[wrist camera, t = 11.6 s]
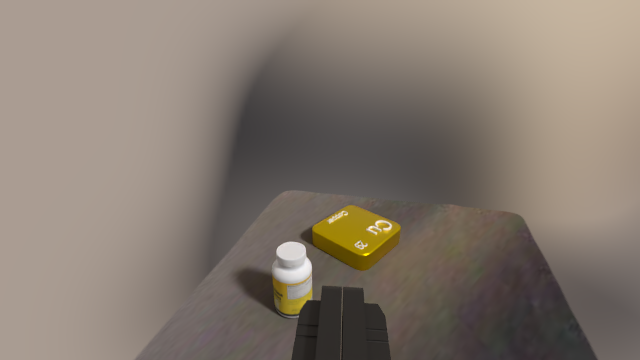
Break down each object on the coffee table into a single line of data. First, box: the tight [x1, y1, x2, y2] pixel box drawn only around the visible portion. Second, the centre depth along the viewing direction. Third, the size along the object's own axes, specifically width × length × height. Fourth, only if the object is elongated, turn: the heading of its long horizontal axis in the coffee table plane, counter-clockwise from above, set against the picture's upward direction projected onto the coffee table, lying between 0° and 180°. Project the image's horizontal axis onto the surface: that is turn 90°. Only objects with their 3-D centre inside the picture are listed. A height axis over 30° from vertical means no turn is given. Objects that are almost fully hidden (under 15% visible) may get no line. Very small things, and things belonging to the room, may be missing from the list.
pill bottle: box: [272, 242, 312, 318], centre depth 54 cm, size 6×6×12 cm
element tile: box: [312, 205, 401, 271], centre depth 72 cm, size 15×15×5 cm
